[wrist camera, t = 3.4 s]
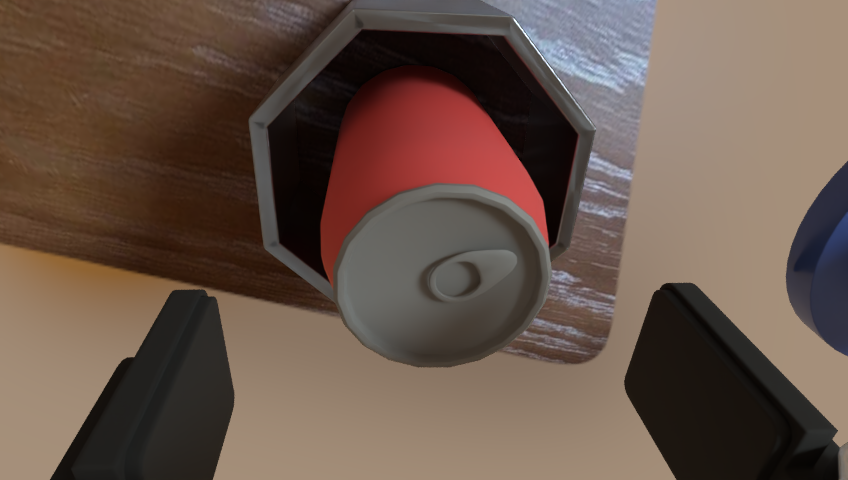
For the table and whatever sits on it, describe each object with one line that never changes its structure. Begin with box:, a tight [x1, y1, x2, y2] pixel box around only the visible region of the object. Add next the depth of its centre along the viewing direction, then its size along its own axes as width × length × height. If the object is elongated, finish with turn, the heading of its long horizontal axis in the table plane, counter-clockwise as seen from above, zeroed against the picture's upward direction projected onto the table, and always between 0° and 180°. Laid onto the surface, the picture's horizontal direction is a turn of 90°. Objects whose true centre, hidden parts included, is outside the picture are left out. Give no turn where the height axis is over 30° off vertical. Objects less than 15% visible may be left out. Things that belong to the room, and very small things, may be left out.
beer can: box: [320, 65, 552, 367], centre depth 18 cm, size 7×7×12 cm
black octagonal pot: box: [248, 0, 596, 302], centre depth 21 cm, size 12×12×6 cm
